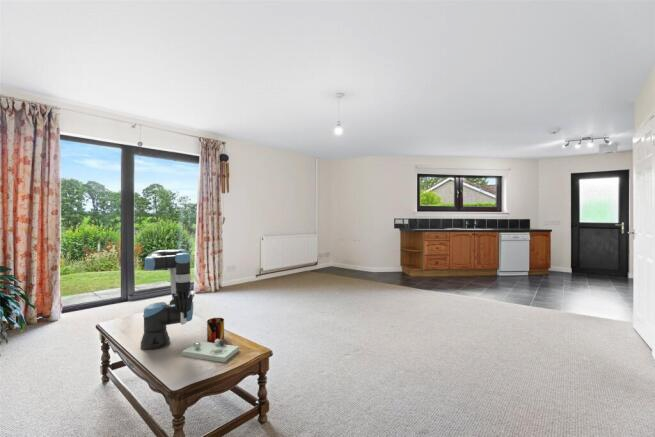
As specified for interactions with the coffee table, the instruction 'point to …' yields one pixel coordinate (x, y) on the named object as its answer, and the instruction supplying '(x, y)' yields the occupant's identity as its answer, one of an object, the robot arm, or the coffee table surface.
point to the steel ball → (197, 345)
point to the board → (211, 351)
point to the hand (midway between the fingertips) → (183, 323)
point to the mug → (215, 329)
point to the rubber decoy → (222, 342)
